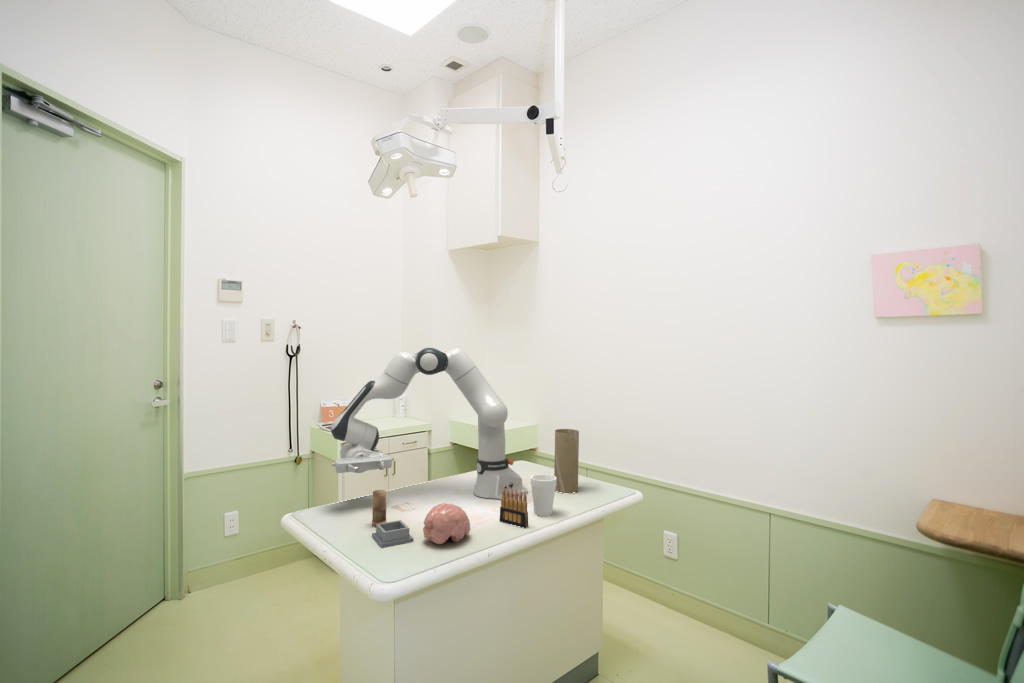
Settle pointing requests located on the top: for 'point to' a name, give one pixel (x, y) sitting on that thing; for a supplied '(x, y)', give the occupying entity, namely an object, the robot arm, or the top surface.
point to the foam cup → (543, 493)
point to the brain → (446, 523)
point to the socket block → (392, 534)
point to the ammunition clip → (514, 508)
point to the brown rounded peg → (379, 507)
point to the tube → (566, 460)
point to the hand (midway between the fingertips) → (369, 468)
